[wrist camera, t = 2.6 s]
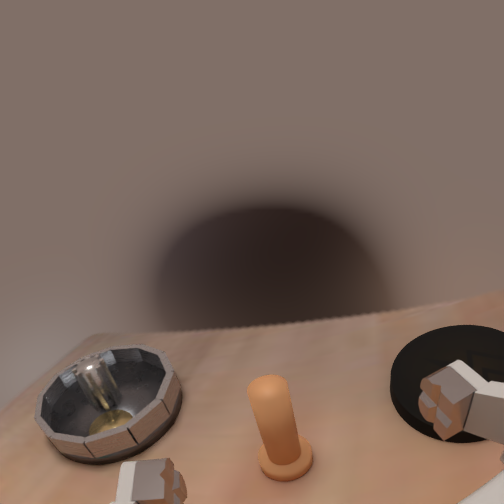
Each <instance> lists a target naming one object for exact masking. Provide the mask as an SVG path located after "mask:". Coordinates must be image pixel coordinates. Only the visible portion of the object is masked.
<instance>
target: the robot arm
mask: <svg viewBox="0 0 504 504" xmlns="http://www.w3.org/2000/svg"><path fill="white" fill-rule="evenodd" d="M420 388H421V389H422V390H423V392H422V393H421V395H420V396H419V403H418V405H419V409H420V412H421V414H422V416H423V417H424V418H425V420H426V421H429V422H432V423H434V428H433V429H434V430H435V431H436V433H437V434H438V435H439V436H440V437H441V438H442V440H443V441H444V440H446V439H448V438H450V437H451V436H453V435H455V434H457V433H458V432H460V431H462V430H463V429H464V430H463V431H466V432H469V433H471V434H474V435H477V436H480V437H483V438H485V439H488V440H491V441H494V442H497V443H500V444H503V445H504V383H501V382H495V381H490V382H489V383H488V382H487V381H486V380H485V379H483V378H482V377H481V376H480V375H479V374H477V373H476V372H475V371H474V370H472V369H471V368H470V367H469V366H468V365H466V364H465V363H464V362H463V361H461V360H456V361H455V362H453V363H451V364H449V365H447V366H446V367H443V368H442V369H440V370H438V371H436V372H434V373H432V374H431V375H429V376H427V377H425V378H423V379H422V381H421V385H420ZM500 460H501V461H502V462H503V464H504V451H503V453H502V455H501V458H500ZM186 498H187V489H186V485H185V481H184V479H183V477H182V475H181V474H180V472H178V471H176V470H174V464H173V462H172V461H171V460H170V458H164V459H154V460H142V461H130V462H123V464H122V465H121V468H120V474H119V480H118V486H117V493H116V500H115V502H111V503H110V504H184V503H183V502H184V501H185V499H186ZM457 504H504V470H503V471H501V472H500V473H499V474H498V475H496V476H495V477H494V478H492V479H491V480H490V481H488V482H487V483H486V484H484V485H483V486H482V487H480V488H479V489H477V490H476V491H475V492H473V493H472V494H470V495H469V496H467V497H466V498H464V499H463V500H461V501H460V502H458V503H457Z"/></svg>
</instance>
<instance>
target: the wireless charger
mask: <svg viewBox="0 0 504 504" xmlns="http://www.w3.org/2000/svg"><path fill="white" fill-rule="evenodd" d="M456 360H461V361H463V362H464V363H465V364H466V365H468V366H469V367H470V368H471V369H472V370H474V371H475V372H476V373H477V374H479V375H480V376H481V377H482V378H483V379H485V380H486V381H487V382H488V383H489V382H490V381H495V382H501V383H504V332H502V331H499V330H496V329H493V328H489V327H484V326H476V325H456V326H448V327H443V328H439V329H436V330H432V331H430V332H427V333H425V334H423V335H421V336H419V337H417V338H415V339H414V340H412V341H411V342H410V343H408V344H407V345H406V346H405V347H404V348H403V349H402V350H401V351H400V352H399V354H398V355H397V357H396V359H395V360H394V363H393V366H392V369H391V381H390V393H391V398H392V402H393V404H394V406H395V408H396V410H397V412H398V413H399V415H400V416H401V417H402V418H403V419H404V420H405V421H406V422H407V423H408V424H409V425H410V426H412V427H413V428H414V429H416V430H417V431H419V432H421V433H423V434H425V435H427V436H429V437H432V438H435V439H438V440H442V438H441V437H440V436H439V435H438V434H437V433H436V431H435V430H434V429H433V428H434V423H432V422H429V421H426V420H425V418H424V417H423V416H422V414H421V412H420V409H419V405H418V403H419V396H420V395H421V393H422V392H423V390H422V389H421V388H420V385H421V381H422V379H423V378H425V377H427V376H429V375H431V374H432V373H434V372H436V371H438V370H440V369H442V368H443V367H446V366H447V365H449V364H451V363H453V362H455V361H456ZM463 430H464V429H463ZM463 430H462V431H460V432H458V433H457V434H455V435H453V436H451V437H450V438H448V439H446V440H444V441H447V442H454V443H470V442H478V441H482V440H486V439H485V438H483V437H480V436H477V435H474V434H471V433H469V432H466V431H463ZM442 441H443V440H442Z"/></svg>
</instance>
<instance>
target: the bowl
mask: <svg viewBox="0 0 504 504" xmlns="http://www.w3.org/2000/svg"><path fill="white" fill-rule="evenodd" d="M180 387H181V385H180V383H179V381H178V378H177V376H176V374H175V371H174V369H173V367H172V365H171V363H170V361H169V359H168V357H167V355H166V353H165V352H164V351H161V350H158V349H155V348H152V347H149V346H146V345H143V344H135V345H123V346H112V347H109V348H106V349H103V350H100V351H97V352H94V353H92V354H89V355H86V356H83V357H82V358H79V359H78V360H76V361H75V362H73V363H72V364H70V365H69V366H67V367H66V368H64V369H62V370H61V371H59V372H58V373H56V375H54V376H53V378H52V379H51V380H50V381H49V383H48V384H47V385H46V386H45V387H44V389H43V390H42V391H41V392H40V394H39V395H38V398H37V404H36V410H35V417H34V419H35V421H36V422H37V424H38V425H39V426H40V428H41V429H42V430H43V432H44V433H45V434H46V436H47V437H48V438H49V439H50V441H51V442H52V443H53V444H54V446H55V447H56V448H57V449H58V450H59V451H60V452H61V453H62V454H63V455H64V456H66V457H67V458H69V459H71V460H73V461H76V462H80V463H84V464H92V465H94V464H108V463H114V462H118V461H121V460H124V459H127V458H130V457H132V456H134V455H136V454H138V453H140V452H142V451H144V450H145V449H147V448H148V447H150V446H151V445H153V444H154V443H155V442H156V441H158V440H159V439H160V438H161V437H162V436H163V435H164V434H165V433H166V432H167V431H168V429H169V428H170V427H171V426H172V424H173V423H174V421H175V419H176V418H177V416H178V413H179V411H180V408H181V403H182V392H181V388H180Z"/></svg>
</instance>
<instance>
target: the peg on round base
mask: <svg viewBox="0 0 504 504" xmlns="http://www.w3.org/2000/svg"><path fill="white" fill-rule="evenodd" d="M247 393H248V397H249V400H250V403H251V406H252V409H253V412H254V416H255V419H256V422H257V425H258V428H259V431H260V434H261V437H262V440H263V443H264V444H263V445H262V446H261V448H260V450H259V452H258V460H259V463H260V465H261V468H262V470H263V472H264V474H265V475H266V476H268V477H269V478H271V479H273V480H276V481H291V480H295V479H297V478H299V477H301V476H303V475H304V474H305V473H306V472H307V471H308V470H309V469H310V467H311V465H312V461H313V457H312V451H311V446H310V444H309V442H308V441H307V440H306V439H305V438H304V437H302V436H300V435H298V432H297V427H296V423H295V418H294V413H293V408H292V403H291V398H290V394H289V389H288V384H287V381H286V380H285V379H284V378H283V377H281V376H278V375H265V376H261V377H259V378H257V379H255V380H254V381H252V382H251V383H250V384H249V386H248V388H247Z"/></svg>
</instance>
